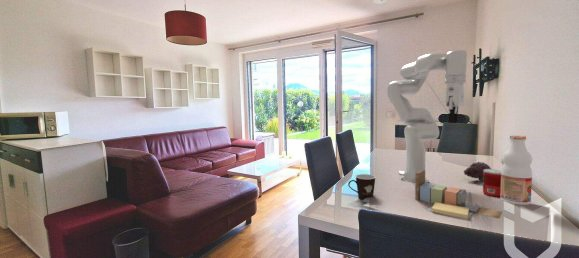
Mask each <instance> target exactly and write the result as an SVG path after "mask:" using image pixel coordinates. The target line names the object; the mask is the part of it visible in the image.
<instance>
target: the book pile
mask: <svg viewBox="0 0 579 258" xmlns="http://www.w3.org/2000/svg"><path fill="white" fill-rule="evenodd" d="M426 211H428V212H431V213H435V214H440V215H443V216H448V217H452V218H456V219H458V220H459V219H460V220H464V221H468V220H469V219H470V218H471V217H472V215H473V214H474V213H473V212H469V208H466V207H460V206H455V205H449V204H444V203H438V202H435V204H432V205H431V206H430V207H429V208H427V210H426Z"/></svg>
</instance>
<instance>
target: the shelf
mask: <svg viewBox="0 0 579 258" xmlns="http://www.w3.org/2000/svg"><path fill="white" fill-rule="evenodd" d="M425 178H426V169H425V170H421V171H419V172H417V173H416V175H415V183H414V184H415V188H414V189H415V191H414V192H415V193H414V196H415V197H414V199H415V200H416V201H419V202H424V203H430V204H432V205H434V204H435V203H431V202H427V201H422V200H420V186H421V185H423V184H424V183H425ZM444 204H445V202H444ZM502 213H503V211H502V210H496V209H492V208H487V207H483V206H480V208H479V210H478V211H477V212H476V213H475V214H477V215H482V216H486V217H491V218H494V219H500V217H501V216H502Z"/></svg>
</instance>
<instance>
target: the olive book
mask: <svg viewBox="0 0 579 258" xmlns="http://www.w3.org/2000/svg"><path fill="white" fill-rule="evenodd" d="M447 187H448V186H445V185H440V184H435V186H433V187H432V188H431V203H430V204H432V203H435V202H438V203H444V202H445V190H447V189H448V188H447Z"/></svg>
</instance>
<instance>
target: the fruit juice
mask: <svg viewBox="0 0 579 258" xmlns="http://www.w3.org/2000/svg"><path fill="white" fill-rule="evenodd" d="M509 140H510V142H509V145H508V148H507V150H505V151H504V152H503V153H502V157H501V158H502V163H503V164H502V167H501V169H500V170H501V194H500V197H499V198H500V200H502V201H503V202H506V203H509V204H514V205H521V206H522V205H523V206H526V205H531V204H532V187H533V186H532V185H533V184H532V181H533V170H532V167H531V165H532V162H533V156H532V154H531V153H530V152H529V151H528V149H527V146H526V141H527V136H525V135H510V136H509Z"/></svg>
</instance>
